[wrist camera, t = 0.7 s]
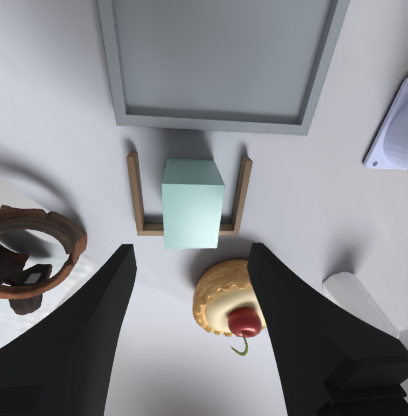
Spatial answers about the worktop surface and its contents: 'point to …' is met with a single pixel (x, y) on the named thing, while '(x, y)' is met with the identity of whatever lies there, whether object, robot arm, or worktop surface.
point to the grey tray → (219, 62)
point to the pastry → (228, 301)
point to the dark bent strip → (158, 228)
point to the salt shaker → (357, 301)
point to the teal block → (191, 203)
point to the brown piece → (14, 262)
